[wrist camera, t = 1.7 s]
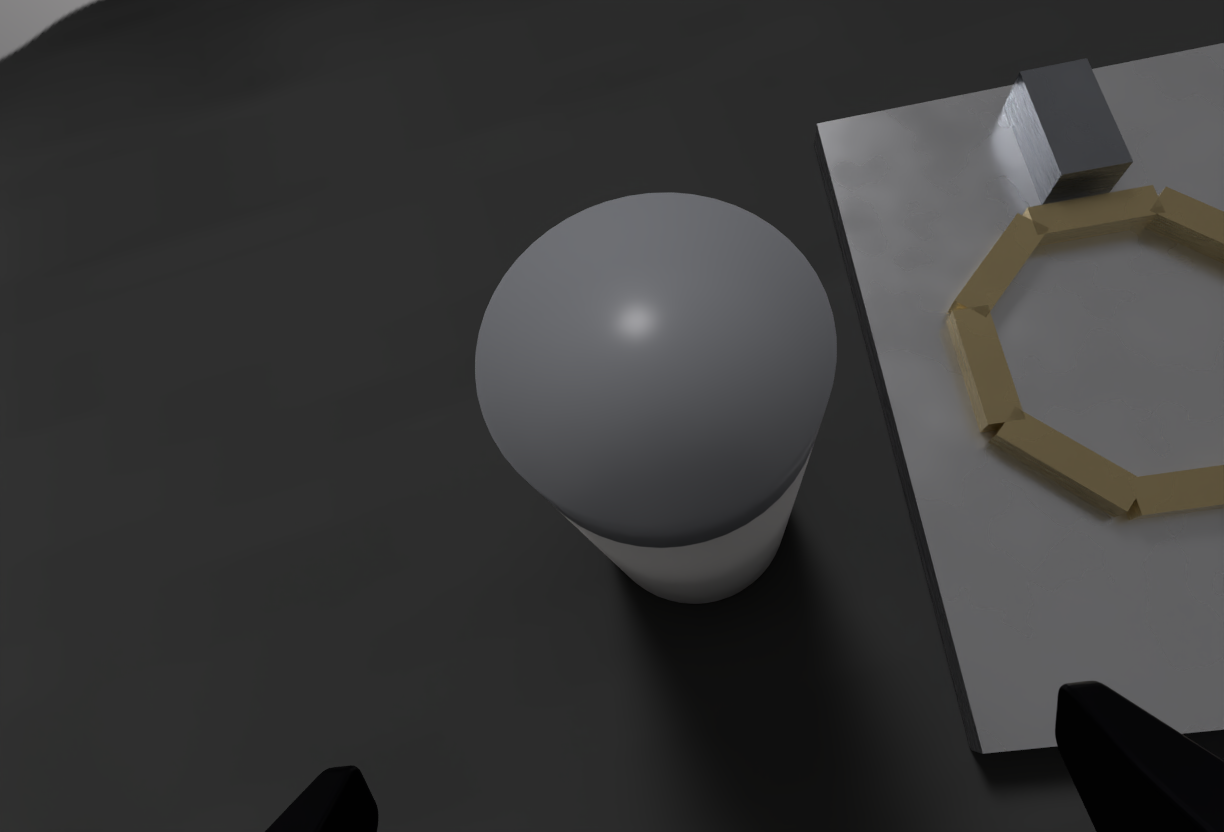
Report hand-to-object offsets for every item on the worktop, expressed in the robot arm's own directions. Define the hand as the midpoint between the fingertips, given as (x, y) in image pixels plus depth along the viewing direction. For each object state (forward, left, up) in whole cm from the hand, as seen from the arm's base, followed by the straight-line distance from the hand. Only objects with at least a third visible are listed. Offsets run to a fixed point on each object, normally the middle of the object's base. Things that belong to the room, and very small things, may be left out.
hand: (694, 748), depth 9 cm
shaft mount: (+7, -14, -12) cm, 20 cm away
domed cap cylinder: (+6, -1, -12) cm, 13 cm away
